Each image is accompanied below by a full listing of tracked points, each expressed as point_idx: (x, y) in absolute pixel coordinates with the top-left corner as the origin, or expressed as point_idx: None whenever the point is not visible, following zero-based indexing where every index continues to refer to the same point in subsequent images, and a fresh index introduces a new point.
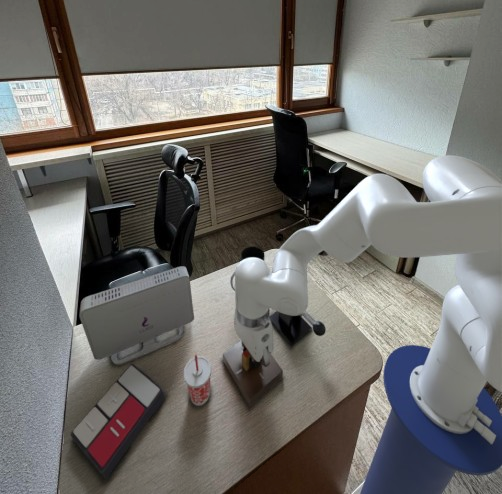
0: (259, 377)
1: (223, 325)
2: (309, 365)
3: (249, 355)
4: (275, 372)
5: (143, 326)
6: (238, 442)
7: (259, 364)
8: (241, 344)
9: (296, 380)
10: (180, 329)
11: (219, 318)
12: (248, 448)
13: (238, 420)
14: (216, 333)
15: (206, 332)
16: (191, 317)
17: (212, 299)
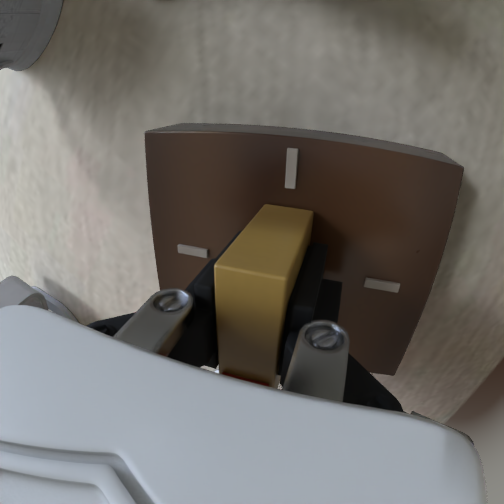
0: (376, 296)
1: (78, 202)
2: (489, 7)
3: (267, 381)
4: (436, 212)
5: None
6: (412, 399)
7: (341, 286)
8: (169, 240)
9: (496, 113)
10: (59, 313)
11: (55, 198)
12: (444, 391)
13: (382, 375)
14: (94, 242)
15: (82, 265)
16: (29, 304)
17: (8, 177)
